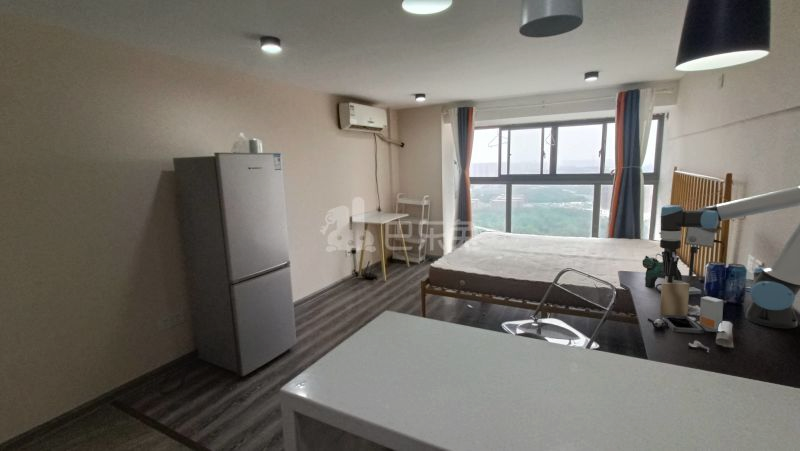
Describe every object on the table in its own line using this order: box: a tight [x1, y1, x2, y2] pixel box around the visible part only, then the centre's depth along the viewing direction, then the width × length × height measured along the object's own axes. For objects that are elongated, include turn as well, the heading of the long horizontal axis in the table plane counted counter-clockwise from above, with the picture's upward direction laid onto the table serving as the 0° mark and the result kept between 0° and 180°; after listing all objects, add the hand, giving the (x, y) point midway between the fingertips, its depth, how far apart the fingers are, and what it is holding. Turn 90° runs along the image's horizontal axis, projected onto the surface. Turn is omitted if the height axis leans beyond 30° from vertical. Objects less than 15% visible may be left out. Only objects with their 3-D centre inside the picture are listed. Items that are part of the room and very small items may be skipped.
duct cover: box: [659, 282, 690, 316], centre depth 157 cm, size 10×15×1 cm
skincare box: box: [698, 295, 724, 329], centre depth 146 cm, size 6×4×12 cm
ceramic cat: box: [642, 253, 684, 288], centre depth 194 cm, size 20×6×20 cm, turn 17°
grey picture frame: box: [660, 314, 705, 334], centre depth 151 cm, size 10×15×2 cm, turn 161°
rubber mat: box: [695, 320, 718, 333], centre depth 147 cm, size 6×9×1 cm, turn 161°
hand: (668, 289), depth 163 cm, fingers closed
